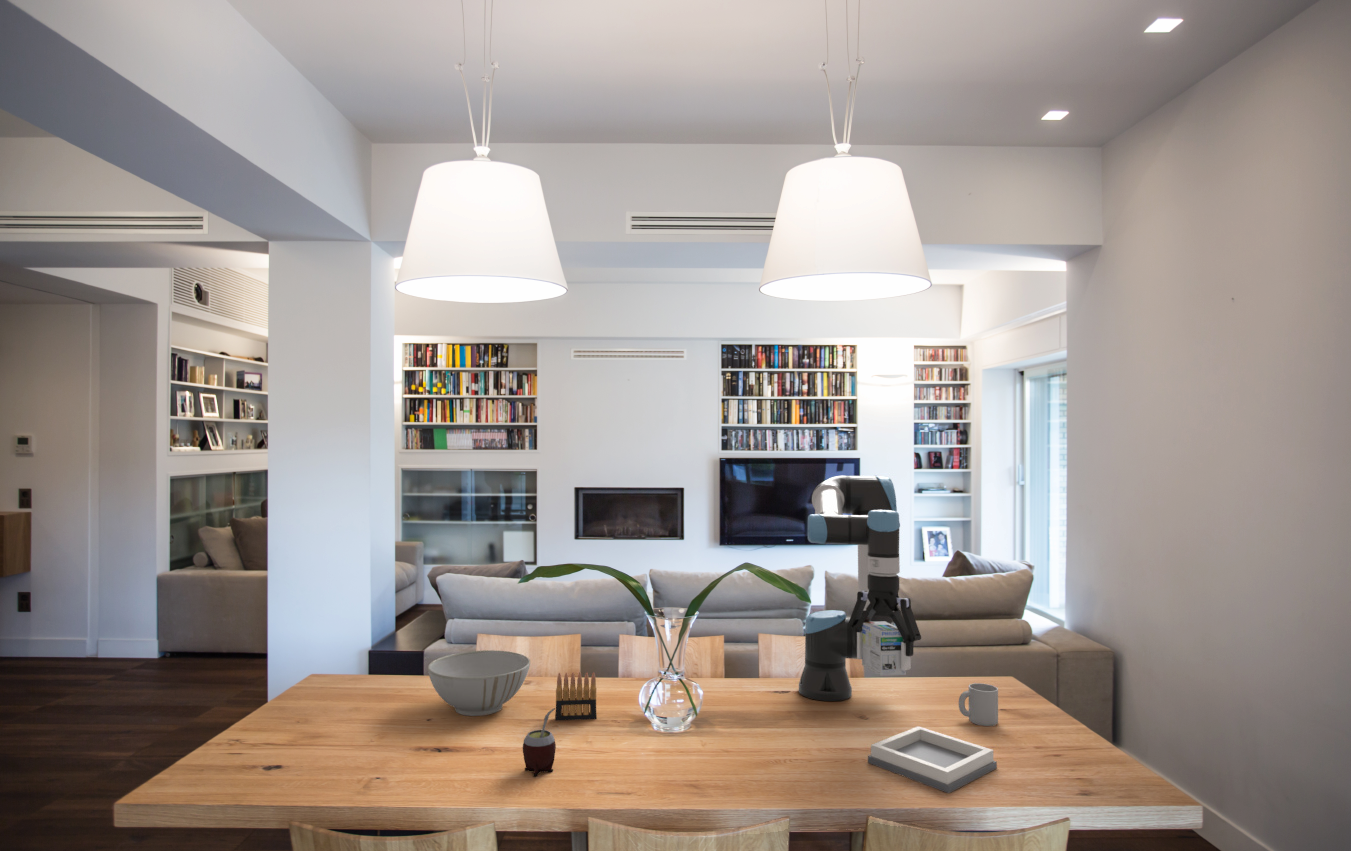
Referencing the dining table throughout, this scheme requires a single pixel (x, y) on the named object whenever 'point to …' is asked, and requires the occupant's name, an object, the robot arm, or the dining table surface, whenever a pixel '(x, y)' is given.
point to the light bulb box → (882, 648)
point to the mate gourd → (539, 750)
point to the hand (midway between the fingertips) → (883, 663)
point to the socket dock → (933, 758)
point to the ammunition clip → (576, 699)
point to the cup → (980, 704)
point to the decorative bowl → (478, 679)
